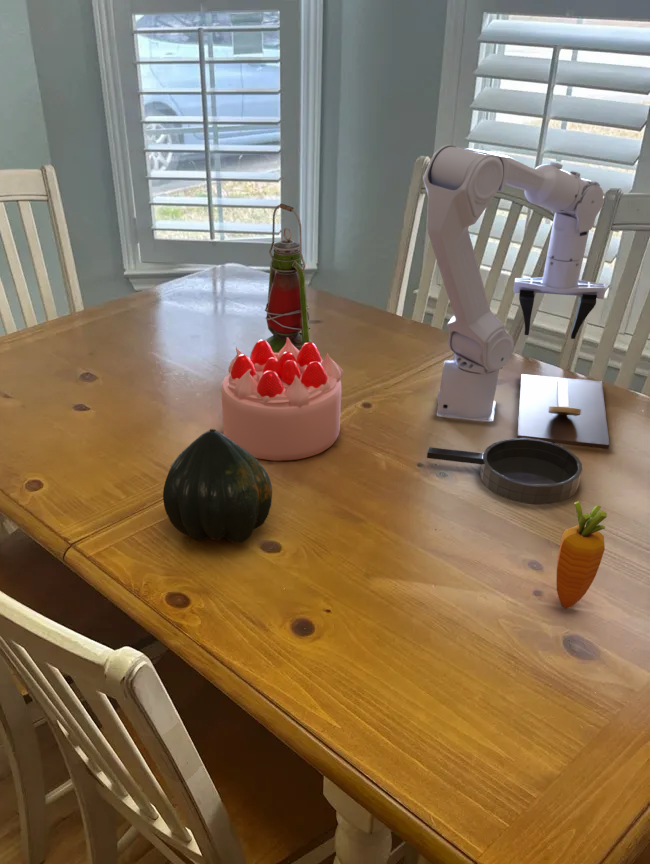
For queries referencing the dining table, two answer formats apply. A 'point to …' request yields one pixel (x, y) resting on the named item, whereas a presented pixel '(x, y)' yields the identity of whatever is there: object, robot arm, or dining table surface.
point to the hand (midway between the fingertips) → (549, 334)
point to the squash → (217, 490)
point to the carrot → (579, 556)
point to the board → (562, 428)
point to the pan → (530, 470)
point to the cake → (282, 401)
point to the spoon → (563, 401)
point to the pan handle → (455, 455)
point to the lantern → (287, 292)
